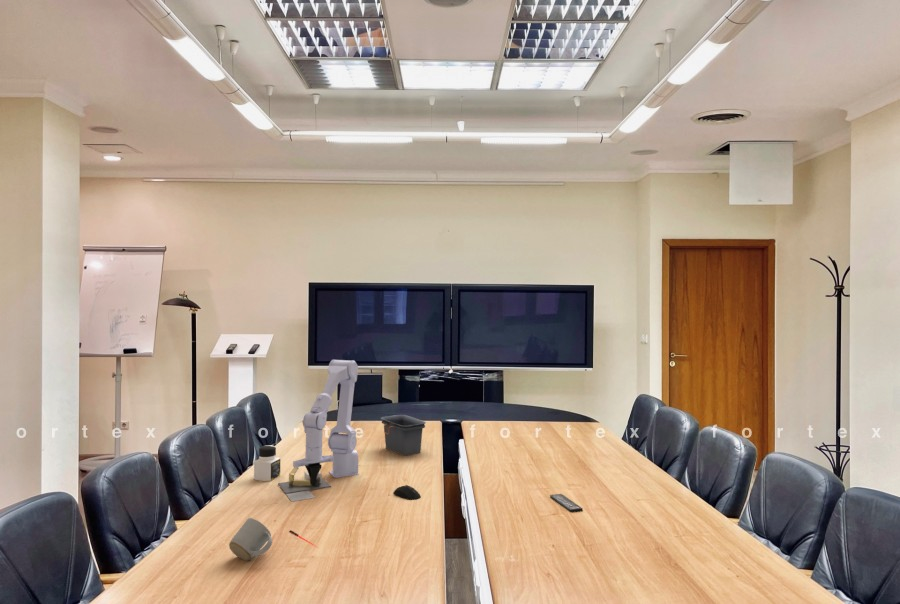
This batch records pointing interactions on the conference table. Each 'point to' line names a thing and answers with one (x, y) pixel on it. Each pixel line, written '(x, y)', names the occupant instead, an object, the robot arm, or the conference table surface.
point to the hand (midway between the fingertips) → (313, 484)
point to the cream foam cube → (306, 476)
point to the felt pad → (300, 496)
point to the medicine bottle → (267, 464)
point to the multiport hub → (566, 503)
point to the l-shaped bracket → (300, 482)
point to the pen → (300, 537)
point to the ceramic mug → (251, 540)
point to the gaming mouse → (407, 493)
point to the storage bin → (403, 434)
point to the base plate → (302, 487)
